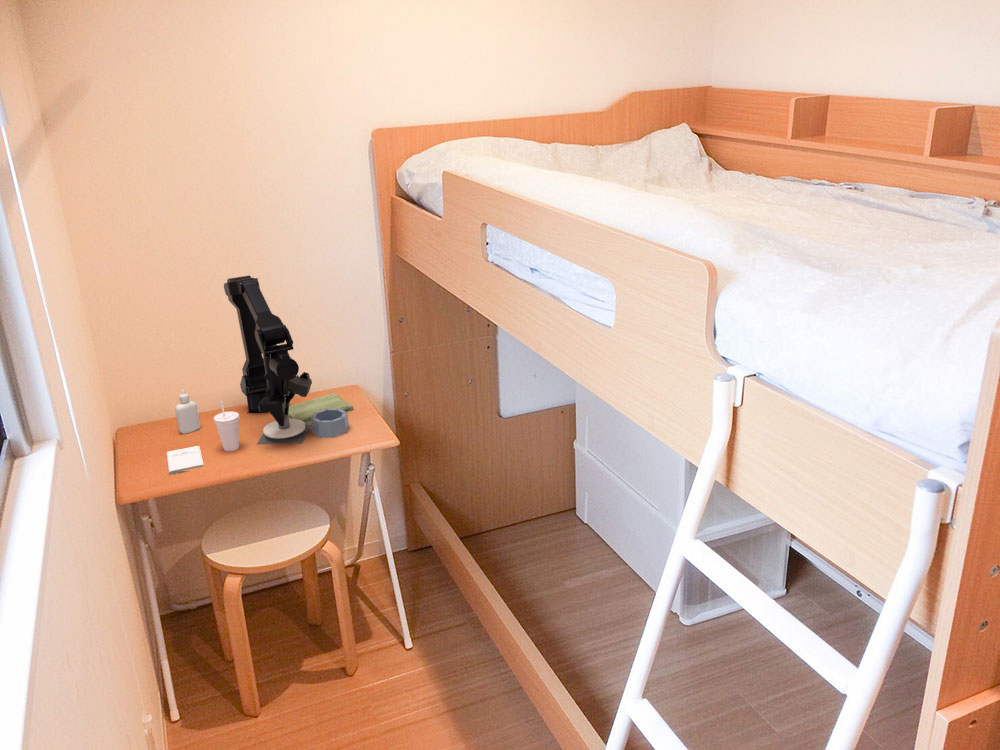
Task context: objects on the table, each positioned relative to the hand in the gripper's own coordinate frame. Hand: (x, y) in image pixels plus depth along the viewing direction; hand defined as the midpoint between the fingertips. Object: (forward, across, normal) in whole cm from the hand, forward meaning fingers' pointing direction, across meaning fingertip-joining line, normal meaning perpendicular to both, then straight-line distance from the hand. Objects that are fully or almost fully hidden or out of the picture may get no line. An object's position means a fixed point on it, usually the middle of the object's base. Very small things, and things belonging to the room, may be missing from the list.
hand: (283, 423), depth 215 cm
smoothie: (+4, -8, +12) cm, 15 cm away
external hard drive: (+5, -14, +22) cm, 27 cm away
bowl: (+4, +2, -12) cm, 13 cm away
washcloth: (+4, +15, -6) cm, 17 cm away
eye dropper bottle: (+4, +5, +28) cm, 29 cm away
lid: (+2, 0, 0) cm, 2 cm away
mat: (+4, 0, 0) cm, 4 cm away
